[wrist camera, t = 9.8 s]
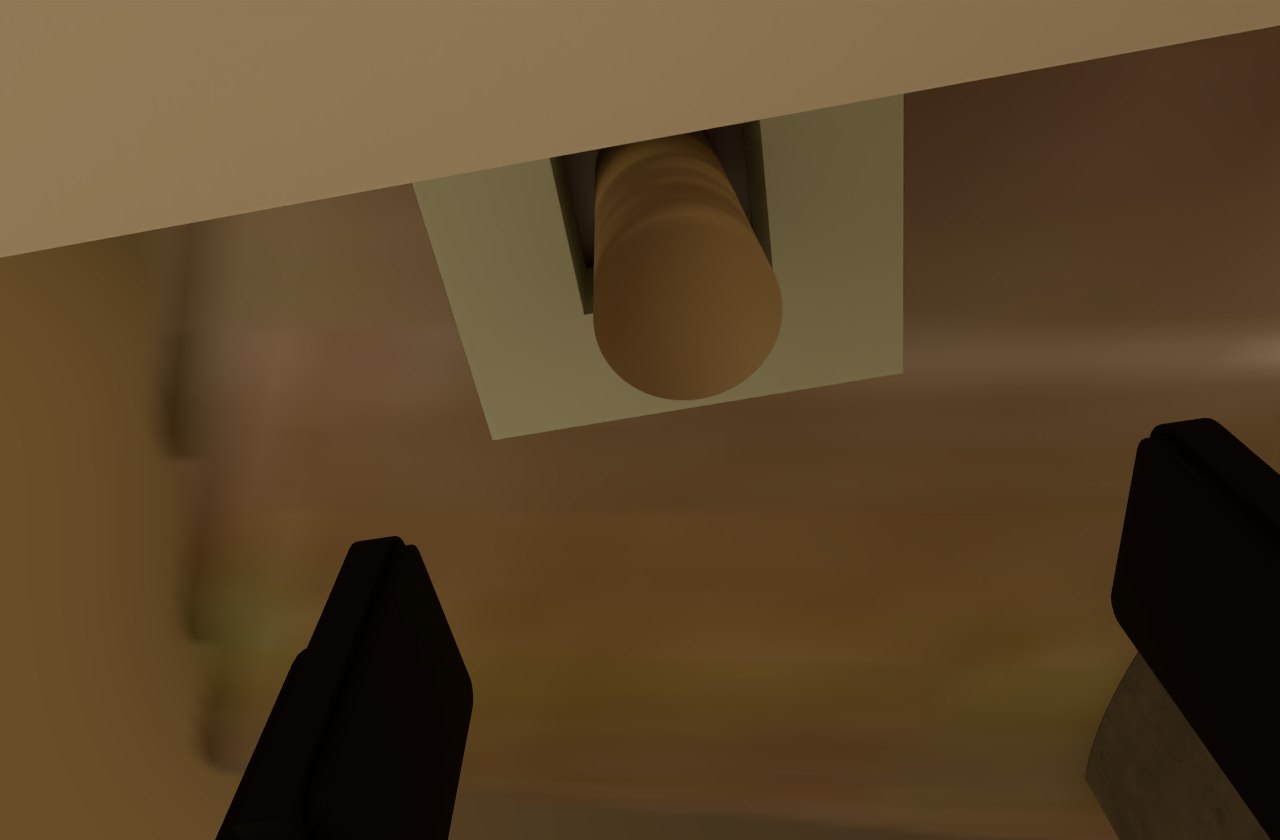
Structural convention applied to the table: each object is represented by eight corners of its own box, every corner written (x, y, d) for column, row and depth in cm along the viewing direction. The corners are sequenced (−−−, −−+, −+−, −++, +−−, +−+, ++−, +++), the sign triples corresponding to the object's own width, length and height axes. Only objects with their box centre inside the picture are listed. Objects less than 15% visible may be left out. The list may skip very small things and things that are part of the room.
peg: (707, 96, 26) (774, 209, 16) (721, 216, 29) (789, 384, 18) (584, 118, 27) (575, 244, 16) (607, 236, 29) (611, 413, 19)
